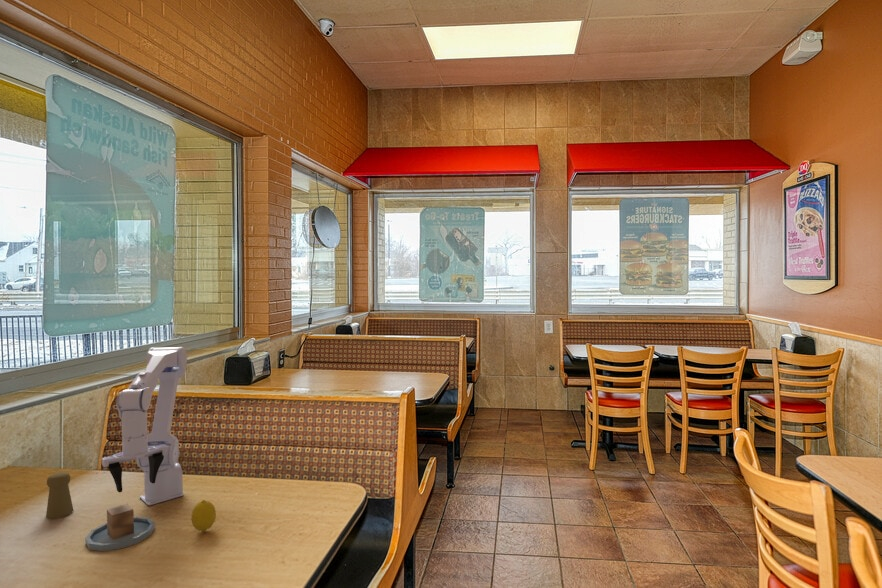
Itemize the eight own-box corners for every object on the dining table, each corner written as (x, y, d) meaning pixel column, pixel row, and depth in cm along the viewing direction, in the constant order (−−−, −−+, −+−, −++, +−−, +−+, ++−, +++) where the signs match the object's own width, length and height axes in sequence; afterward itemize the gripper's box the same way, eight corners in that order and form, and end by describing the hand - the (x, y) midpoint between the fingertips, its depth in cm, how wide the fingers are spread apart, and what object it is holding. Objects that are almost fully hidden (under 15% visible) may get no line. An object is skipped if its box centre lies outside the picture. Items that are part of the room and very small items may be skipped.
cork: (58, 519, 136) (57, 478, 136) (39, 517, 138) (38, 477, 137) (79, 509, 142) (77, 470, 142) (60, 507, 144) (59, 468, 143)
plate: (143, 517, 138) (143, 511, 138) (161, 535, 128) (161, 529, 128) (80, 536, 128) (80, 530, 127) (94, 557, 118) (94, 551, 118)
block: (128, 526, 131) (127, 503, 131) (134, 532, 128) (133, 509, 128) (107, 533, 128) (106, 509, 127) (112, 539, 124) (112, 515, 124)
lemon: (220, 528, 131) (220, 497, 131) (204, 538, 126) (203, 506, 126) (203, 525, 133) (203, 494, 133) (186, 535, 128) (185, 503, 127)
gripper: (106, 445, 126) (108, 499, 126) (170, 431, 136) (171, 482, 137) (99, 438, 131) (100, 491, 131) (161, 426, 141) (162, 475, 142)
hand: (136, 486), depth 134 cm, fingers open, 7 cm apart
